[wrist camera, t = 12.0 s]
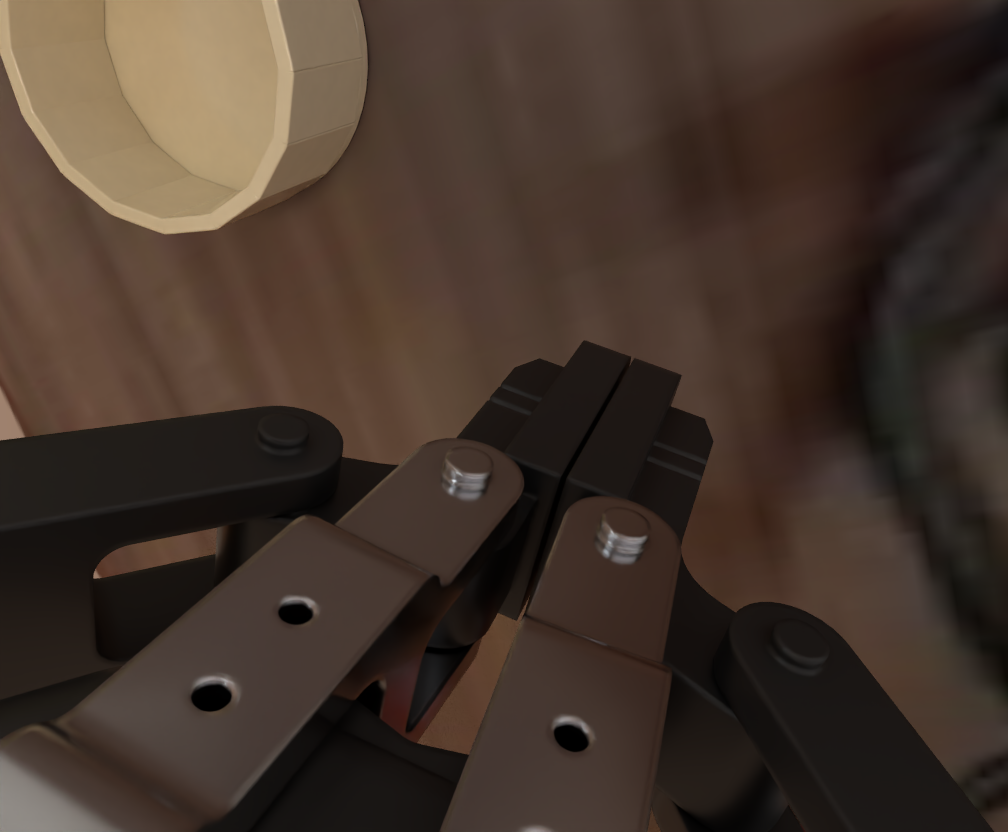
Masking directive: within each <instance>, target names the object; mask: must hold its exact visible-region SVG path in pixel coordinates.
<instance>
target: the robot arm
mask: <svg viewBox="0 0 1008 832" xmlns="http://www.w3.org/2000/svg"><path fill="white" fill-rule="evenodd" d="M630 361H631V357H630V356H627V355H624V354H621V353H619V352H616V351H613V350H610V349H608V348H605V347H602V346H599V345H596V344H594V343H591V342H588V341H585V340H584V341H583V342H582V344H581V345H580V346H579V348H578V349H577V351H576V352H575V353H574V355H573V356H572V357H571V359H570V360H569V362H568V363H567V364H566V366H565V367H562V366H559V365H556V364H553V363H551V362H548V361H545V360H542V359H540V358H539V359H537V360H534V361H531V362H529V363H526V364H523V365H521V366H518V367H515V368H514V369H513V370H512V372H511V373H510V374H509V375H508V377H507V378H506V379H505V380H504V381H503V383H502V384H501V387H498V389H497V390H496V391H495V392H494V393H493V395H492V396H491V397H490V400H489V401H487V402H486V403H485V404H484V405H483V407H482V408H481V409H480V410H479V411H478V413H477V414H476V415H475V416H474V417H473V419H472V420H471V421H470V422H469V423H468V425H467V426H466V427H465V428H464V429H463V431H462V432H461V433H460V434H459V435H458V437H457V438H446V439H439V440H434V441H431V442H428V443H426V444H424V445H422V446H420V447H419V448H418V449H416V450H415V451H414V452H413V453H412V454H411V455H410V456H409V457H408V458H406V459H405V460H404V461H403V462H402V463H401V464H400V465H388V464H380V463H374V462H368V461H362V460H357V459H351V458H345V457H342V452H343V439H342V436H341V434H340V432H339V430H338V429H337V428H336V427H335V426H334V425H333V424H332V423H331V422H330V421H328V420H327V419H325V418H323V417H322V416H320V415H318V414H315V413H313V412H310V411H307V410H304V409H299V408H295V407H287V406H265V407H256V408H249V409H241V410H233V411H225V412H218V413H210V414H202V415H194V416H187V417H179V418H171V419H164V420H156V421H148V422H140V423H133V424H125V425H117V426H109V427H102V428H94V429H86V430H78V431H71V432H63V433H55V434H48V435H40V436H32V437H24V438H17V439H9V440H1V441H0V832H647V831H648V824H649V818H650V812H651V806H652V811H653V814H654V816H655V819H656V821H657V824H658V826H659V828H660V830H661V832H804V830H805V832H994V831H993V830H992V828H991V827H990V826H989V825H988V823H987V822H986V821H985V819H984V818H983V817H982V816H981V814H980V813H979V812H978V810H977V809H976V808H975V807H974V805H973V804H972V803H971V801H970V800H969V799H968V798H967V796H966V795H965V794H964V792H963V791H962V790H961V789H960V787H959V786H958V785H957V783H956V782H955V781H954V780H953V778H952V777H951V776H950V774H949V773H948V772H947V771H946V769H945V768H944V767H943V765H942V764H941V763H940V762H939V760H938V759H937V758H936V756H935V755H934V754H933V753H932V751H931V750H930V749H929V747H928V746H927V745H926V744H925V742H924V741H923V740H922V738H921V737H920V736H919V735H918V733H917V732H916V731H915V729H914V728H913V727H912V726H911V724H910V723H909V722H908V720H907V719H906V718H905V717H904V715H903V714H902V713H901V711H900V710H899V709H898V708H897V706H896V705H895V704H894V702H893V701H892V700H891V699H890V697H889V696H888V695H887V693H886V692H885V691H884V690H883V688H882V687H881V686H880V684H879V683H878V682H877V681H876V679H875V678H874V677H873V675H872V674H871V673H870V672H869V670H868V669H867V668H866V666H865V665H864V664H863V663H862V661H861V660H860V659H859V657H858V656H857V655H856V654H855V652H854V651H853V650H852V648H851V647H850V646H849V645H848V643H847V642H846V641H845V640H844V639H843V638H842V637H841V636H840V635H839V634H838V633H837V632H836V631H835V630H834V629H833V628H831V627H830V626H829V625H827V624H826V623H825V622H823V621H822V620H820V619H818V618H817V617H815V616H813V615H811V614H809V613H807V612H805V611H803V610H801V609H798V608H795V607H792V606H789V605H785V604H781V603H774V602H758V603H753V604H749V605H747V606H744V607H743V608H741V609H740V610H738V611H737V613H735V612H734V611H732V610H731V609H729V608H728V607H726V606H725V605H723V604H722V603H720V602H719V601H718V600H716V599H715V598H714V597H712V596H711V595H710V594H708V593H707V592H706V591H705V590H704V589H703V588H702V587H701V586H700V585H699V584H698V583H697V582H696V581H695V580H694V578H693V577H692V576H691V574H690V573H689V571H688V570H687V568H686V565H685V563H684V561H683V558H682V554H681V544H682V539H683V536H684V533H685V530H686V527H687V523H688V520H689V517H690V514H691V511H692V508H693V504H694V501H695V498H696V495H697V492H698V489H699V485H700V482H701V479H702V476H703V473H704V470H705V466H706V463H707V460H708V457H709V454H710V451H711V447H712V444H713V439H712V436H711V434H710V431H709V429H708V426H707V424H706V421H705V419H704V418H701V417H698V416H695V415H693V414H690V413H687V412H685V411H682V410H679V409H676V408H674V407H671V404H672V401H673V399H674V396H675V393H676V390H677V388H678V385H679V382H680V379H681V376H682V375H680V374H678V373H675V372H672V371H669V370H666V369H664V368H661V367H658V366H655V365H653V364H650V363H647V362H644V361H641V360H639V359H636V358H634V360H633V361H632V363H631V365H630ZM629 365H630V367H629ZM212 528H217V540H216V554H213V555H209V556H204V557H199V558H195V559H190V560H185V561H181V562H176V563H171V564H167V565H162V566H157V567H153V568H148V569H143V570H138V571H134V572H129V573H124V574H120V575H115V576H110V577H106V578H97V579H93V574H94V571H95V569H96V567H97V565H98V564H99V562H100V561H101V560H102V559H103V558H104V557H105V556H107V555H108V554H109V553H111V552H112V551H114V550H116V549H118V548H121V547H124V546H127V545H131V544H136V543H141V542H146V541H151V540H156V539H162V538H167V537H172V536H177V535H182V534H187V533H192V532H197V531H202V530H207V529H212ZM529 596H530V597H529ZM528 598H529V601H528V604H527V607H526V610H525V613H524V615H523V617H522V619H521V622H520V624H519V627H518V629H517V632H516V635H515V637H514V640H513V642H512V645H511V648H510V650H509V653H508V655H507V658H506V660H505V663H504V666H503V668H502V671H501V673H500V676H499V679H498V681H497V684H496V686H495V689H494V691H493V694H492V697H491V699H490V702H489V704H488V707H487V710H486V712H485V715H484V717H483V720H482V723H481V725H480V728H479V730H478V733H477V735H476V738H475V741H474V743H473V746H472V748H471V751H470V754H469V755H467V754H462V753H458V752H453V751H448V750H444V749H439V748H435V747H430V746H426V745H421V744H418V743H417V742H418V741H419V739H420V738H421V736H422V735H423V733H424V732H425V730H426V729H427V728H428V726H429V725H430V723H431V722H432V720H433V719H434V717H435V716H436V714H437V713H438V711H439V710H440V709H441V707H442V706H443V704H444V703H445V701H446V700H447V698H448V697H449V695H450V694H451V692H452V691H453V690H454V688H455V687H456V685H457V684H458V682H459V681H460V679H461V678H462V676H463V675H464V673H465V672H466V671H467V669H468V668H469V666H470V665H471V663H472V662H473V660H474V659H475V657H476V655H477V653H478V649H479V646H480V642H481V639H482V637H483V636H484V635H485V634H486V632H487V631H488V629H489V628H490V626H491V624H492V622H493V621H494V619H495V617H496V615H497V613H500V614H502V615H505V616H507V617H509V618H512V619H514V620H516V621H517V619H518V617H519V615H520V613H521V611H522V610H523V608H524V606H525V604H526V602H527V600H528ZM788 804H789V805H790V807H791V809H792V810H793V812H794V814H795V815H796V817H797V818H798V820H799V822H800V823H801V825H802V827H803V828H804V830H803V829H802V827H801V825H800V824H799V822H798V820H797V819H796V817H795V815H794V814H793V812H792V810H791V809H790V807H789V805H788Z"/></svg>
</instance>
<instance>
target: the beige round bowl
mask: <svg viewBox="0 0 1008 832" xmlns="http://www.w3.org/2000/svg"><path fill="white" fill-rule="evenodd" d="M0 55H1V57H2V60H3V63H4V66H5V69H6V71H7V74H8V77H9V80H10V83H11V85H12V88H13V91H14V94H15V96H16V99H17V102H18V105H19V108H20V110H21V113H22V115H23V116H24V119H25V121H26V122H27V124H28V125H29V126H30V128H31V129H32V131H33V132H34V134H35V135H36V137H37V138H38V140H39V141H40V143H41V144H42V145H43V147H44V148H45V150H46V151H47V153H48V154H49V156H50V157H51V159H52V160H53V162H54V163H55V164H56V166H57V167H58V169H59V170H60V172H61V173H63V175H64V176H65V177H66V178H67V179H69V180H70V181H71V182H72V183H73V184H75V185H76V186H77V187H78V188H79V189H81V190H82V191H83V192H84V193H85V194H87V195H88V196H89V197H90V198H91V199H93V200H94V201H95V202H96V203H97V204H99V205H100V206H101V207H102V208H103V209H105V210H106V211H107V212H108V213H109V214H112V215H113V216H115V217H118V218H121V219H124V220H126V221H129V222H132V223H134V224H137V225H140V226H143V227H145V228H148V229H151V230H154V231H156V232H159V233H162V234H178V233H189V232H200V231H211V230H217V229H220V228H222V227H224V226H227V225H229V224H231V223H234V222H236V221H238V220H241V219H243V218H245V217H248V216H250V215H253V214H255V213H257V212H260V211H262V210H264V209H267V208H269V207H271V206H274V205H276V204H278V203H281V202H283V201H285V200H288V199H289V198H291V197H292V196H293V195H295V194H296V193H298V192H300V191H302V190H304V189H305V188H307V187H309V186H311V185H312V184H314V183H315V182H317V181H318V180H319V179H320V178H322V177H323V176H324V175H325V174H327V173H328V171H329V170H330V169H331V168H332V167H333V166H334V165H335V164H336V163H337V161H338V160H339V159H340V157H341V156H342V154H343V153H344V151H345V150H346V148H347V147H348V145H349V143H350V141H351V139H352V137H353V134H354V132H355V130H356V128H357V125H358V122H359V119H360V116H361V112H362V109H363V104H364V99H365V94H366V87H367V73H368V58H367V42H366V35H365V28H364V22H363V18H362V14H361V10H360V6H359V2H358V0H0Z"/></svg>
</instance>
